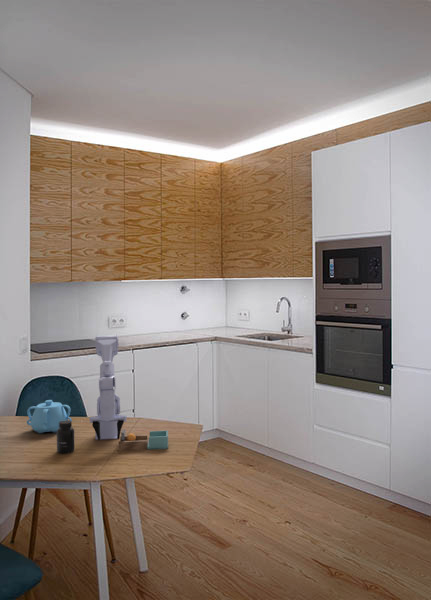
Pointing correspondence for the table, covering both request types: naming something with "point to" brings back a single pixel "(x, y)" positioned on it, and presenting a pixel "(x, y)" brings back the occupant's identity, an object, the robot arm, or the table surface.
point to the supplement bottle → (65, 437)
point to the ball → (131, 437)
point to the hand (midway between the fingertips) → (108, 439)
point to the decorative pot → (48, 416)
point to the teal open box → (158, 440)
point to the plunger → (123, 435)
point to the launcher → (134, 443)
